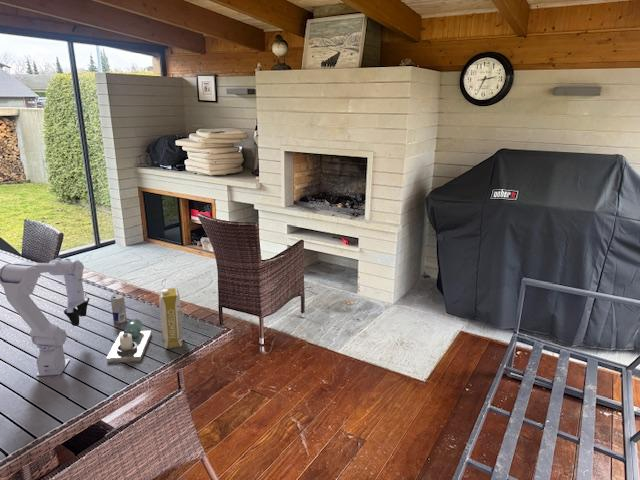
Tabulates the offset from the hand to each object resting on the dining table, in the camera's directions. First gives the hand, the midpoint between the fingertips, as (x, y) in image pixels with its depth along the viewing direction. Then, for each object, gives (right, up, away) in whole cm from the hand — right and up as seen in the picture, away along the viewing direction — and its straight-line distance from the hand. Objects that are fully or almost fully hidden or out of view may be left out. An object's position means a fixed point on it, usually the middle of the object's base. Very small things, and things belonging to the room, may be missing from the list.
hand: (79, 320), depth 175 cm
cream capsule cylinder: (+20, -11, -4) cm, 23 cm away
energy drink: (+6, -4, +22) cm, 23 cm away
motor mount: (+20, -11, +1) cm, 23 cm away
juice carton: (+35, -10, +6) cm, 37 cm away
